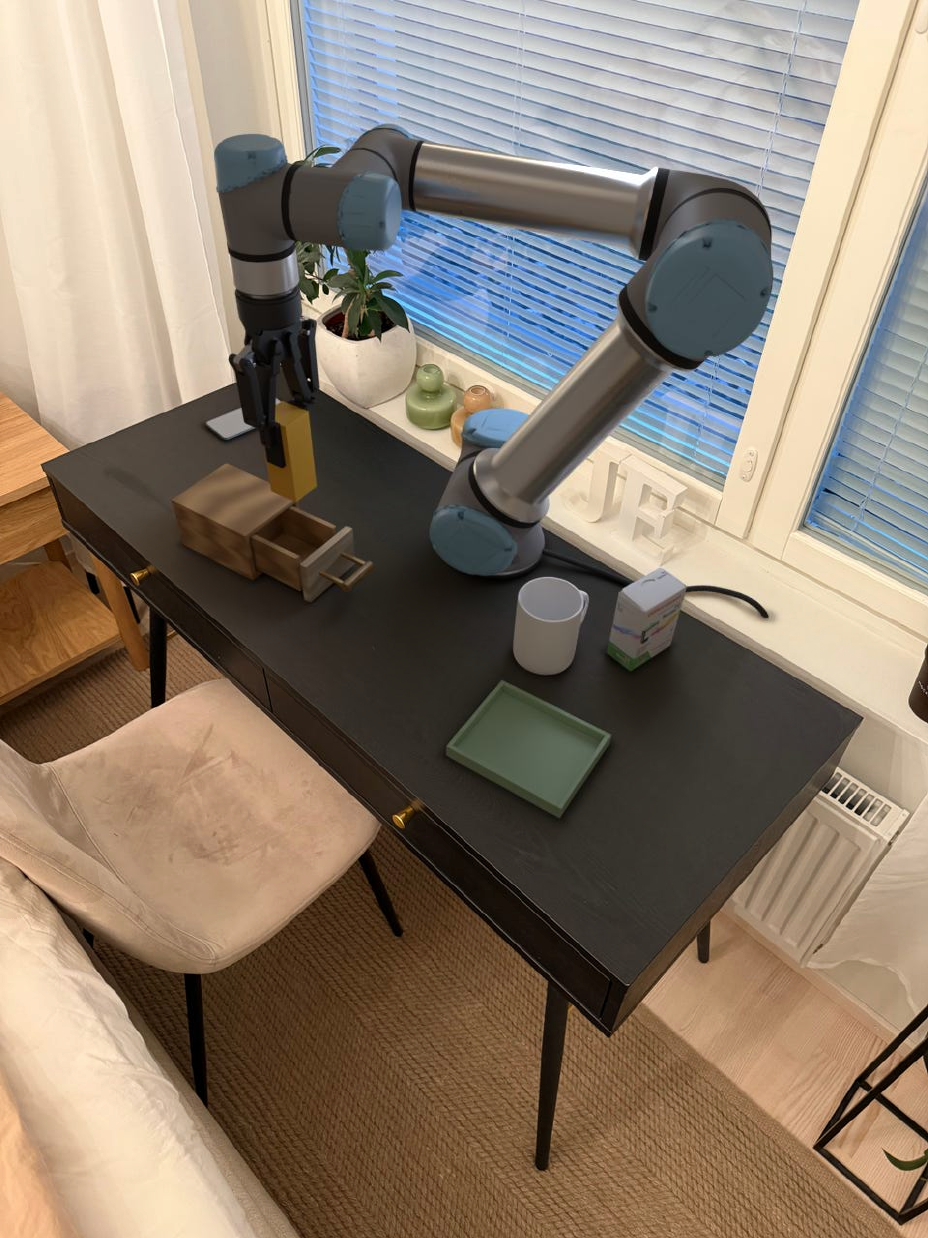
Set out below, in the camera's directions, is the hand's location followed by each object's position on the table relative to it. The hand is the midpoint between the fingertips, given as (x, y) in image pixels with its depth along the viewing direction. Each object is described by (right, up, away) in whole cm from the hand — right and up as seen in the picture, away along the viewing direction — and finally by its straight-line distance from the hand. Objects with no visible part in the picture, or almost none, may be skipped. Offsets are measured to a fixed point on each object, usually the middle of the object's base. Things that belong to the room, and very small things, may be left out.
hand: (289, 454), depth 120 cm
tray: (+32, -39, -7) cm, 50 cm away
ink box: (+48, -26, +6) cm, 55 cm away
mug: (+36, -26, +5) cm, 45 cm away
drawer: (+1, -15, +14) cm, 20 cm away
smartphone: (-16, +15, +44) cm, 49 cm away
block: (0, -4, +4) cm, 6 cm away
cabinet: (-11, -10, +20) cm, 25 cm away
